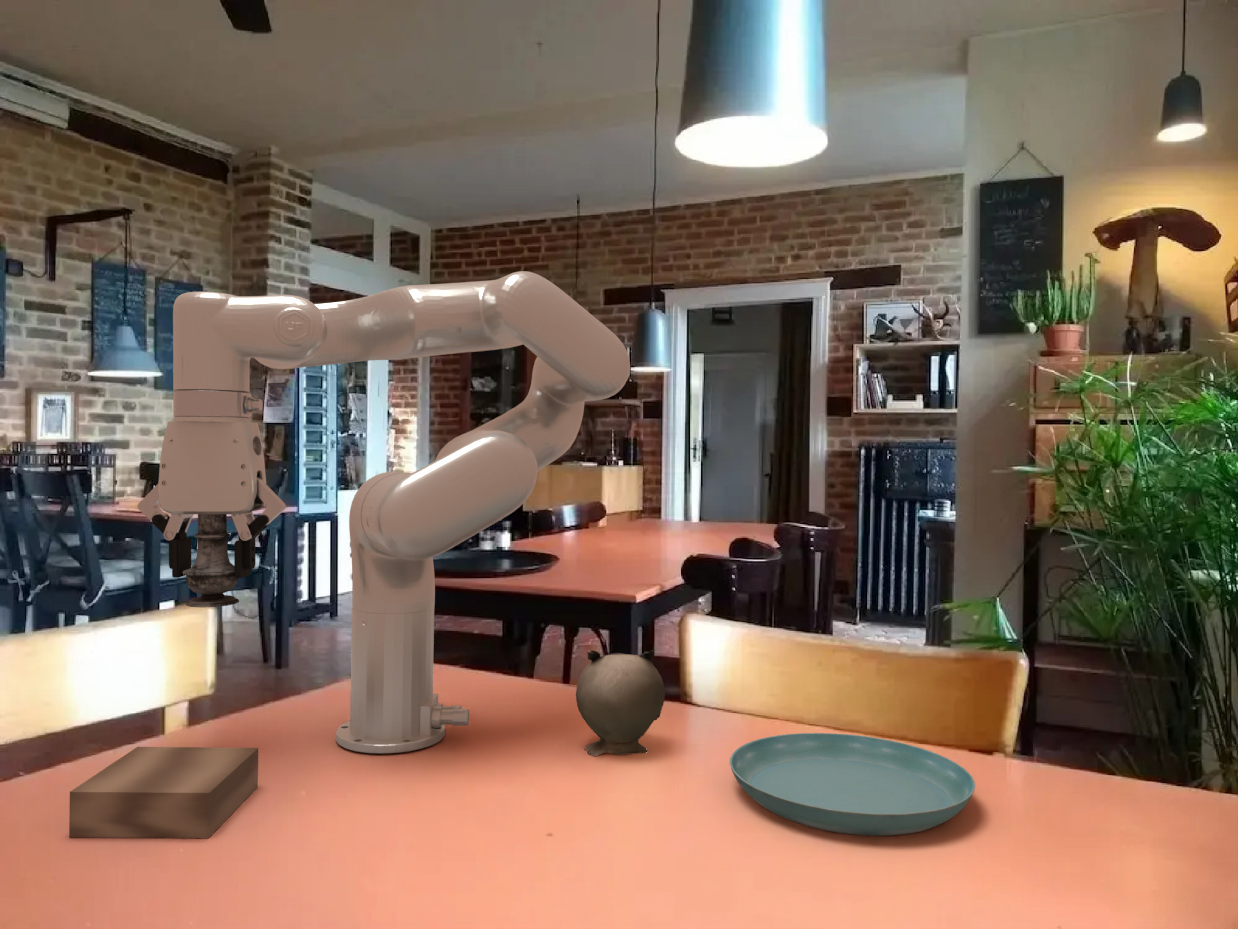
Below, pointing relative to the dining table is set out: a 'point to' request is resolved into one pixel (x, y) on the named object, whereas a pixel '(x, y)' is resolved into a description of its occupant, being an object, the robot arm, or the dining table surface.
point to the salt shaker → (211, 564)
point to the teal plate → (852, 782)
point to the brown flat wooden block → (164, 793)
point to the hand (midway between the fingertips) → (212, 574)
